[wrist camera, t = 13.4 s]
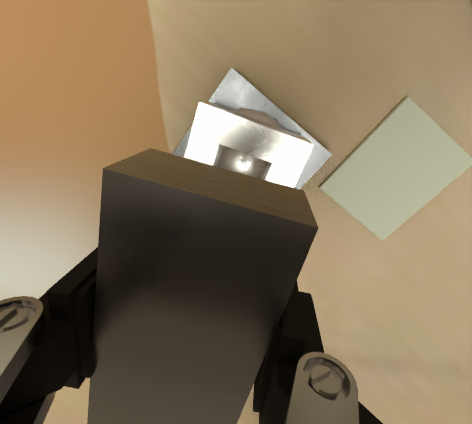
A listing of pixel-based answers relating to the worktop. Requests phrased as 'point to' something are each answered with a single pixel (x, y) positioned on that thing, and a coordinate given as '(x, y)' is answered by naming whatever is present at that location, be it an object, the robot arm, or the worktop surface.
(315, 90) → the worktop surface
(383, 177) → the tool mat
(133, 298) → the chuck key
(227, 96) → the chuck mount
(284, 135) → the grey boxy piece
